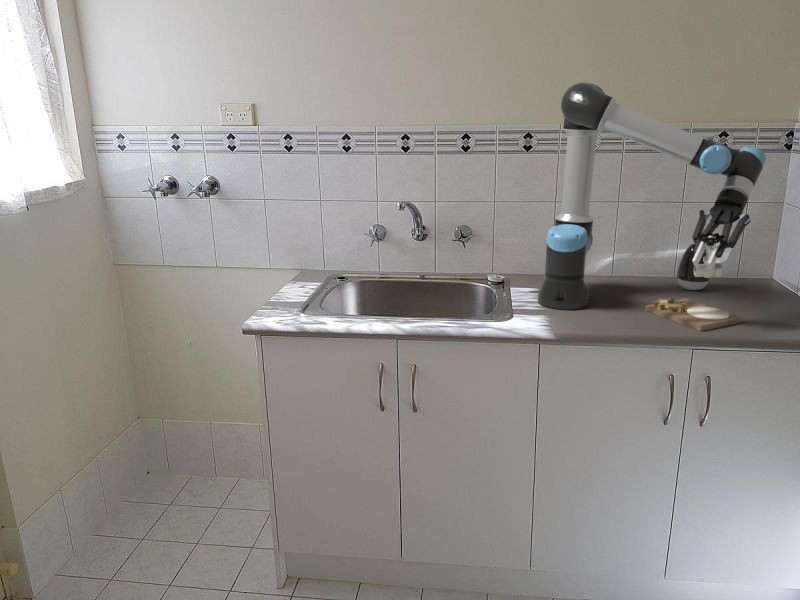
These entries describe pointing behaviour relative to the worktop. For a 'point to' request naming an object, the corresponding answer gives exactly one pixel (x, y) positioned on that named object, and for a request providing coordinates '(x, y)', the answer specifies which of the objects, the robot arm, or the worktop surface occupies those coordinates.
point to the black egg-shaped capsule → (690, 271)
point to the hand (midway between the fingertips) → (702, 264)
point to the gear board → (692, 314)
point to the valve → (703, 269)
